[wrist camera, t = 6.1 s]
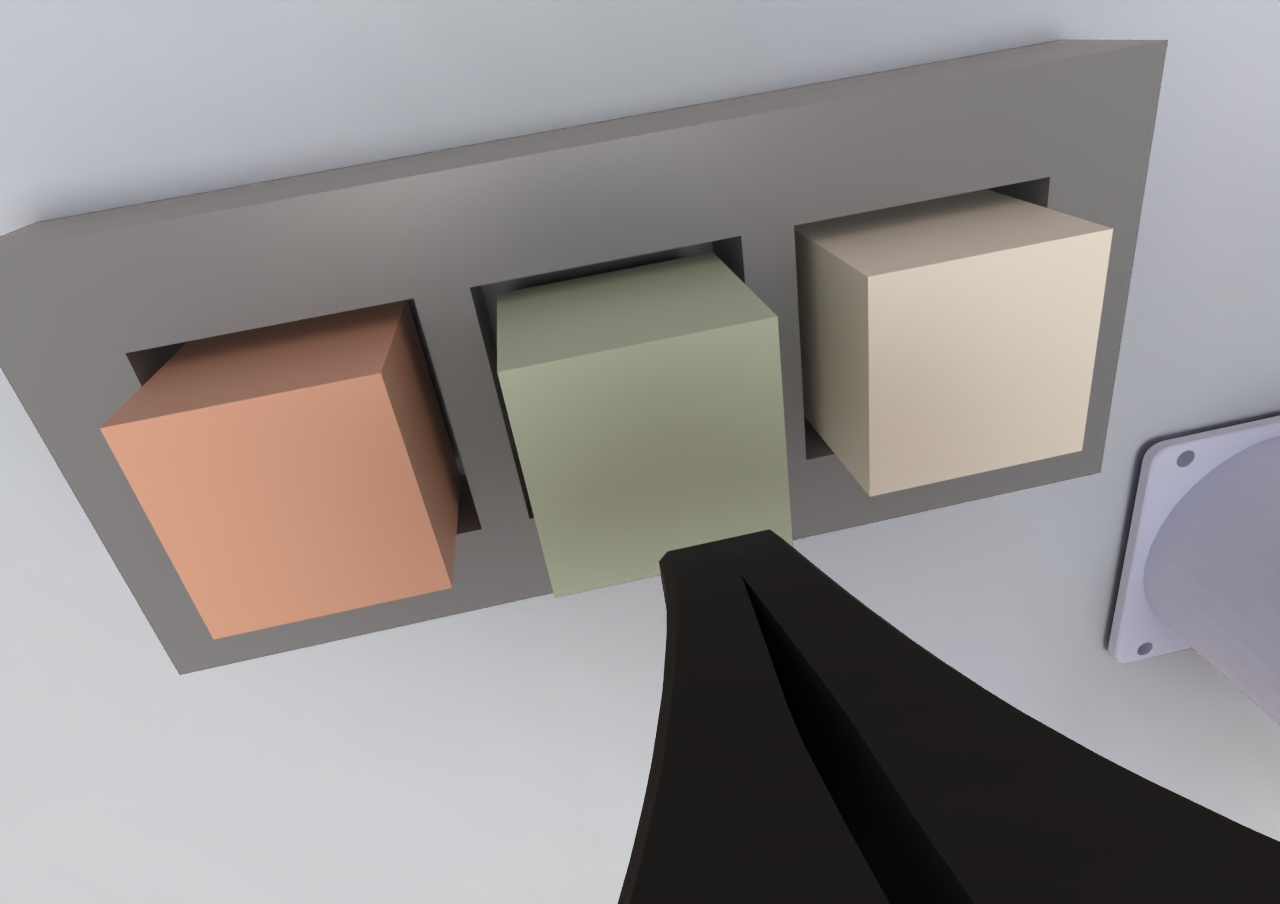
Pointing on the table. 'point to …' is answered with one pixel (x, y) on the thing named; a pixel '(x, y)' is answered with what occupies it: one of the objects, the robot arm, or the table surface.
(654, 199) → the keypad housing
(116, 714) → the table surface
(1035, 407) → the ivory key
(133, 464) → the terracotta key
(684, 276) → the sage key
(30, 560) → the table surface
